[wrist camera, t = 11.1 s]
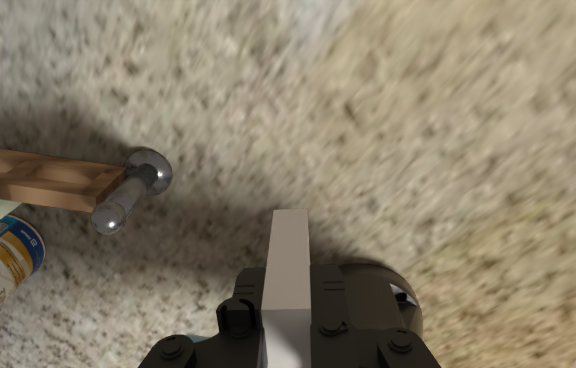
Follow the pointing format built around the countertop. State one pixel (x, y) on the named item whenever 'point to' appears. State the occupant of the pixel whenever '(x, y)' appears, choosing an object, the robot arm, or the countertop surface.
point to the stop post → (7, 207)
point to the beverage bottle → (18, 254)
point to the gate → (56, 180)
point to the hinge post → (132, 190)
